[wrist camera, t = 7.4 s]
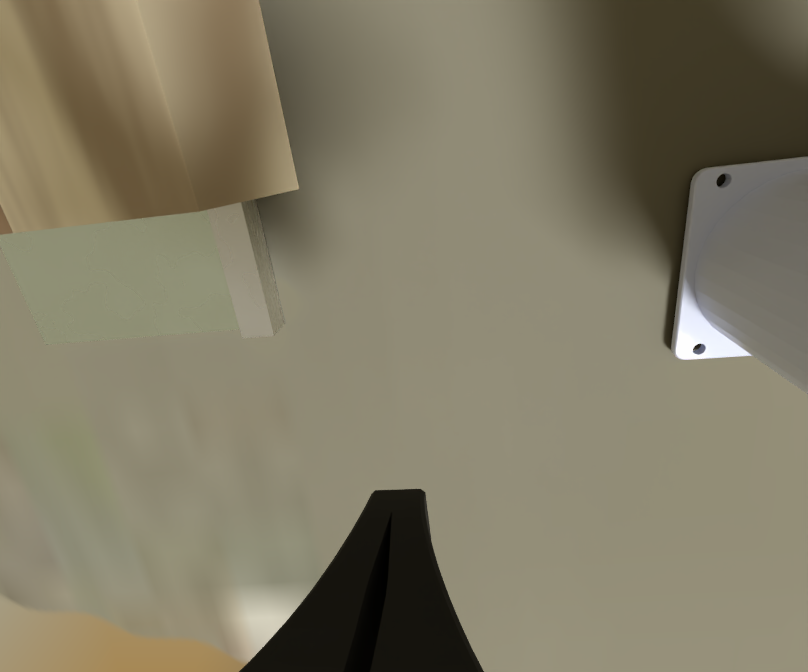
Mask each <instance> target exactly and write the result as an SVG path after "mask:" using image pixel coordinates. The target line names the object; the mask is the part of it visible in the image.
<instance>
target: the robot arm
mask: <svg viewBox="0 0 808 672" xmlns="http://www.w3.org/2000/svg"><path fill="white" fill-rule="evenodd" d="M721 174H724V175H725V177H726V180H725V182H724V183H723V184H722V185H721V186H719V187H718V186H717V183H716V181H717V178H718V177H719V176H720V175H721ZM697 344H701V346H700V348H699V349H698V350H695V351H693V348H694V346H695V345H697ZM671 351H672V353H673V354H674V355H675V356H676V357H677V358H679V359H682V360H689V359H705V358H721V357H737V356H754V357H755V358H757V359H758V360H760V361H761V362H762V363H764V364H765V365H767V366H768V367H770V368H771V369H772V370H774V371H775V372H777V373H778V374H780V375H781V376H782V377H784V378H785V379H787V380H788V381H790V382H791V383H792V384H794V385H795V386H797V387H798V388H800V389H801V390H802V391H804V392H805V393H807V394H808V156H806V157H797V158H788V159H780V160H771V161H762V162H753V163H744V164H735V165H726V166H717V167H708V168H704V169H701V170H699V171H698V172H697V173H696V174H695V175H694V176H693V178H692V181H691V187H690V195H689V203H688V212H687V220H686V228H685V236H684V245H683V253H682V261H681V270H680V278H679V286H678V295H677V303H676V311H675V320H674V328H673V336H672V345H671ZM239 672H484V671H483V669H482V667H481V665H480V663H479V661H478V660H477V658H476V656H475V654H474V652H473V650H472V648H471V646H470V644H469V641H468V639H467V637H466V635H465V633H464V630H463V628H462V626H461V624H460V622H459V619H458V617H457V615H456V612H455V610H454V607H453V605H452V602H451V600H450V597H449V595H448V592H447V590H446V587H445V584H444V581H443V578H442V576H441V573H440V570H439V567H438V564H437V561H436V557H435V554H434V550H433V546H432V543H431V535H430V527H429V519H428V511H427V503H426V495H425V492H424V491H423V490H421V489H405V490H376V491H374V492H373V493H372V494H371V496H370V498H369V500H368V502H367V504H366V506H365V508H364V510H363V512H362V513H361V515H360V517H359V519H358V520H357V522H356V524H355V526H354V527H353V529H352V531H351V532H350V534H349V536H348V537H347V539H346V540H345V542H344V544H343V545H342V547H341V548H340V550H339V552H338V553H337V555H336V556H335V558H334V559H333V561H332V562H331V564H330V565H329V566H328V568H327V569H326V571H325V572H324V573H323V575H322V576H321V578H320V579H319V581H318V582H317V583H316V585H315V586H314V587H313V589H312V590H311V591H310V593H309V594H308V595H307V597H306V598H305V599H304V600H303V602H302V603H301V604H300V606H299V607H298V608H297V609H296V610H295V612H294V613H293V614H292V615H291V616H290V618H289V619H288V620H287V621H286V622H285V624H284V625H283V626H282V627H281V628H280V629H279V630H278V631H277V632H276V634H275V635H274V636H273V637H272V638H271V639H270V640H269V641H268V642H267V644H266V645H265V646H264V647H263V648H262V649H261V650H260V651H259V652H258V653H257V654H256V655H255V656H254V657H253V658H252V659H251V660H250V662H249V663H248V664H246V665H245V666H244V668H242V669H241V670H240V671H239Z"/></svg>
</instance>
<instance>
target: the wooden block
mask: <svg viewBox="0 0 808 672" xmlns="http://www.w3.org/2000/svg"><path fill="white" fill-rule="evenodd" d="M298 189H299V186H298V181H297V176H296V172H295V167H294V162H293V158H292V153H291V148H290V144H289V139H288V134H287V130H286V125H285V120H284V116H283V111H282V106H281V102H280V97H279V92H278V87H277V83H276V78H275V73H274V69H273V64H272V59H271V55H270V50H269V45H268V41H267V36H266V31H265V27H264V22H263V17H262V13H261V8H260V3H259V0H0V235H2V234H11V233H19V232H28V231H37V230H45V229H54V228H62V227H71V226H79V225H88V224H97V223H105V222H114V221H122V220H131V219H140V218H148V217H157V216H165V215H174V214H183V213H191V212H200V211H204V210H209V209H213V208H218V207H222V206H227V205H231V204H235V203H240V202H244V201H249V200H253V199H258V198H262V197H267V196H271V195H275V194H280V193H284V192H289V191H293V190H298Z"/></svg>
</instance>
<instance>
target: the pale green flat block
mask: <svg viewBox="0 0 808 672" xmlns="http://www.w3.org/2000/svg"><path fill="white" fill-rule="evenodd" d="M0 247H1V249H2V251H3V253H4V256H5V258H6V260H7V262H8V264H9V266H10V269H11V271H12V273H13V275H14V277H15V279H16V282H17V284H18V286H19V288H20V290H21V292H22V295H23V297H24V299H25V301H26V303H27V305H28V308H29V310H30V312H31V314H32V316H33V318H34V321H35V323H36V325H37V327H38V329H39V331H40V334H41V336H42V338H43V340H44V342H45V344H46V345H50V344H63V343H75V342H88V341H100V340H113V339H125V338H138V337H150V336H163V335H176V334H188V333H201V332H213V331H226V330H238V329H240V332H241V335H242V338H253V337H266V336H274V335H275V334H276V333H277V332H278V331H279V330H280V329H281V328H282V326H283V325H284V324H285V321H284V317H283V313H282V309H281V304H280V300H279V296H278V292H277V287H276V283H275V279H274V274H273V270H272V266H271V262H270V257H269V253H268V249H267V245H266V240H265V236H264V232H263V228H262V223H261V219H260V215H259V211H258V206H257V202H256V199H253V200H249V201H244V202H240V203H235V204H231V205H227V206H222V207H218V208H213V209H209V210H204V211H200V212H191V213H183V214H174V215H165V216H157V217H148V218H140V219H131V220H122V221H114V222H105V223H97V224H88V225H79V226H71V227H62V228H54V229H45V230H37V231H28V232H19V233H11V234H2V235H0Z"/></svg>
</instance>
